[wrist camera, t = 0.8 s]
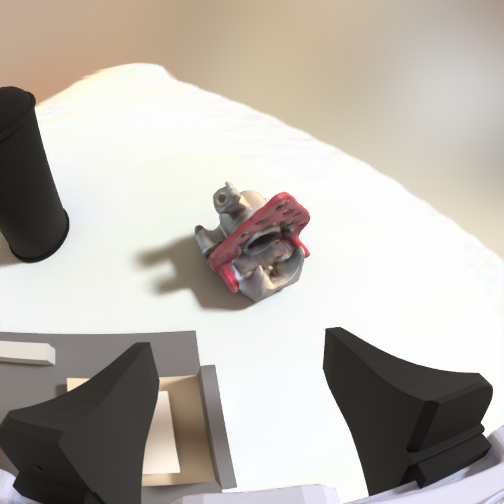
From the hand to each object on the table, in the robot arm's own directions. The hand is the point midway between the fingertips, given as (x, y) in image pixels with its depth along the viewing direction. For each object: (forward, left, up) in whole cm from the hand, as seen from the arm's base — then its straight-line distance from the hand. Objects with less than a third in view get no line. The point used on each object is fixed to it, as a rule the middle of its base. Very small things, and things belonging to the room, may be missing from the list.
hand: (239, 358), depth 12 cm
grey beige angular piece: (-3, +6, -15) cm, 16 cm away
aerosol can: (+18, +18, -16) cm, 30 cm away
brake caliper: (+13, -6, -16) cm, 22 cm away
